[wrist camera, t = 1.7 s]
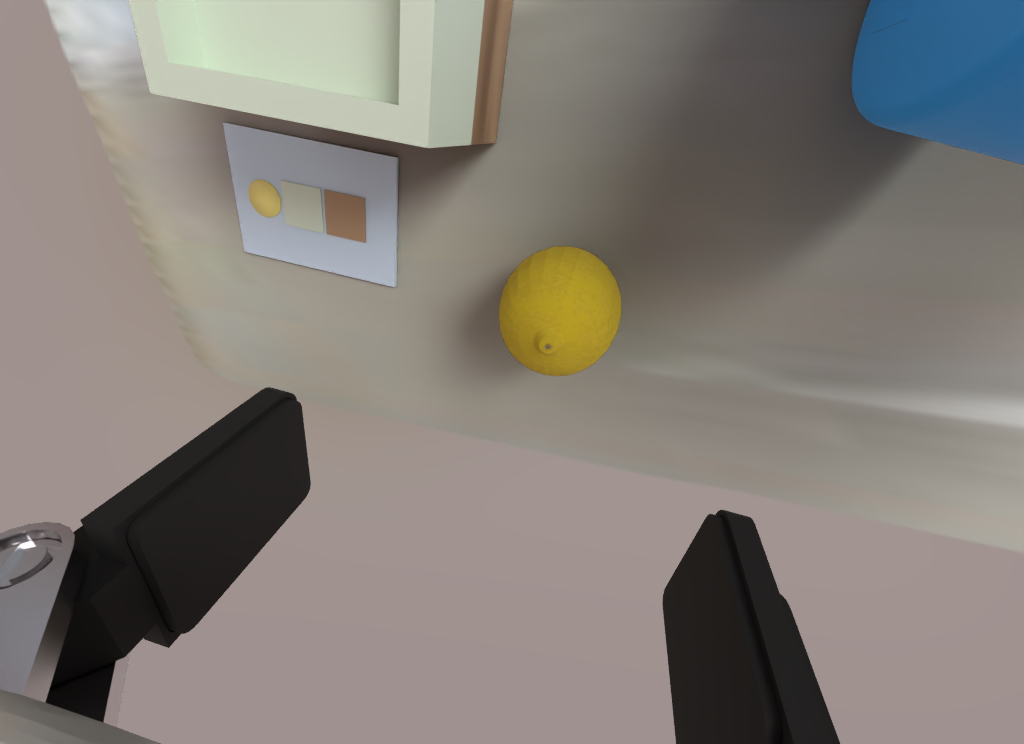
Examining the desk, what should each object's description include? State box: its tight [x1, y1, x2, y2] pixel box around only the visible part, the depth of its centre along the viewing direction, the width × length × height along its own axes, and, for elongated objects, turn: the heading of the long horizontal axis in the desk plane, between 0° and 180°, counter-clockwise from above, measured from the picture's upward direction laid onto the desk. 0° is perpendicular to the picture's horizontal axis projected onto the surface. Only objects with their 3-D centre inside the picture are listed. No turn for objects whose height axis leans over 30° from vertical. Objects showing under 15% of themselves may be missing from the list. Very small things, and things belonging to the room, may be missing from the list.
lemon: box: [499, 246, 622, 376], centre depth 20 cm, size 6×6×8 cm
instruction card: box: [223, 123, 399, 287], centre depth 24 cm, size 10×7×1 cm
